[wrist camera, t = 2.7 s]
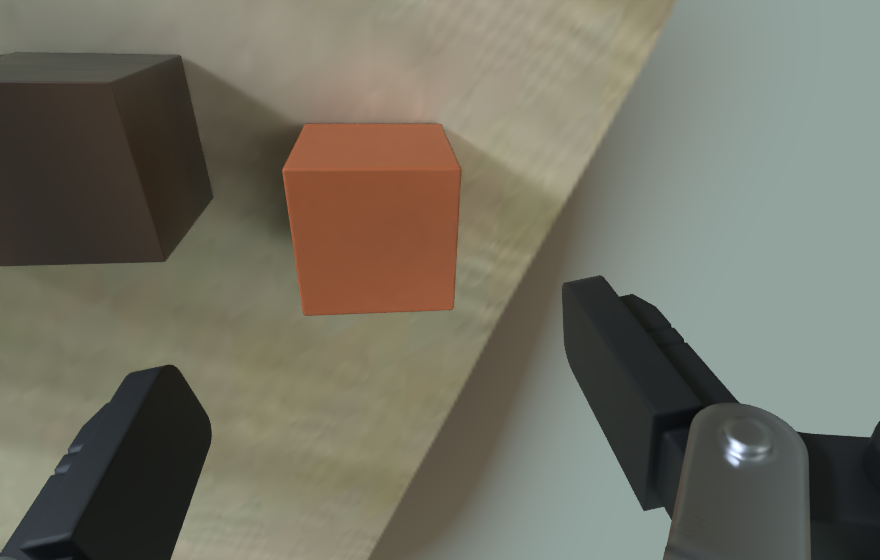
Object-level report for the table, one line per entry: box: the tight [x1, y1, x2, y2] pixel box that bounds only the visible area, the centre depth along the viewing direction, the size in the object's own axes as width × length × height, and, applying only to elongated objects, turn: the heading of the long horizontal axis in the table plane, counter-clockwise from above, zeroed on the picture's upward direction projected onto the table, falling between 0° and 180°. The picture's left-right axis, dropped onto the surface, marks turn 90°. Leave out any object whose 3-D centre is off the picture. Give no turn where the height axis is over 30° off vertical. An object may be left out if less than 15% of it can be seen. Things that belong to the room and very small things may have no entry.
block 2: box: [282, 124, 461, 316], centre depth 16 cm, size 5×5×5 cm
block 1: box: [0, 52, 213, 266], centre depth 14 cm, size 5×5×5 cm
